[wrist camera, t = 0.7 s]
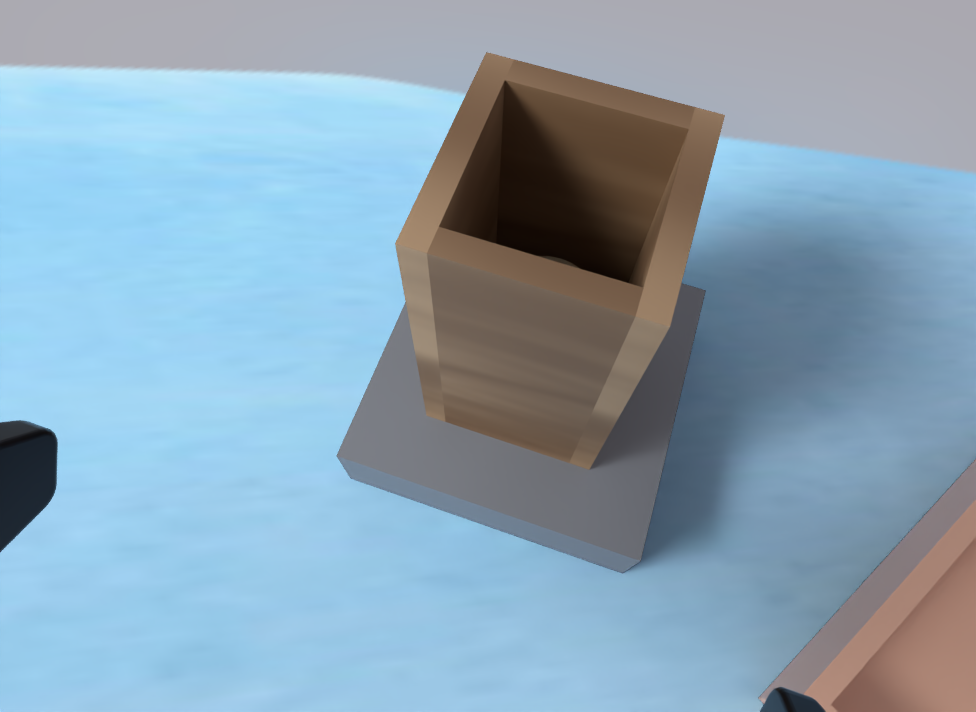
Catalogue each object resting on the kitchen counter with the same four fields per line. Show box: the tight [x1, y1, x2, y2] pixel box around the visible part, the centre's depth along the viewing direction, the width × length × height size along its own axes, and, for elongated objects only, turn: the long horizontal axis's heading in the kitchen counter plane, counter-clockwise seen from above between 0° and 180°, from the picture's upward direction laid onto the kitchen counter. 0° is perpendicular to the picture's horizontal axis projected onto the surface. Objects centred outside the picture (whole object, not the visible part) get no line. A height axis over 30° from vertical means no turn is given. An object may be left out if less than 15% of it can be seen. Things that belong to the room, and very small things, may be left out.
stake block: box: [337, 256, 706, 573], centre depth 20 cm, size 9×9×7 cm
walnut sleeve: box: [395, 53, 725, 470], centre depth 17 cm, size 6×5×9 cm
